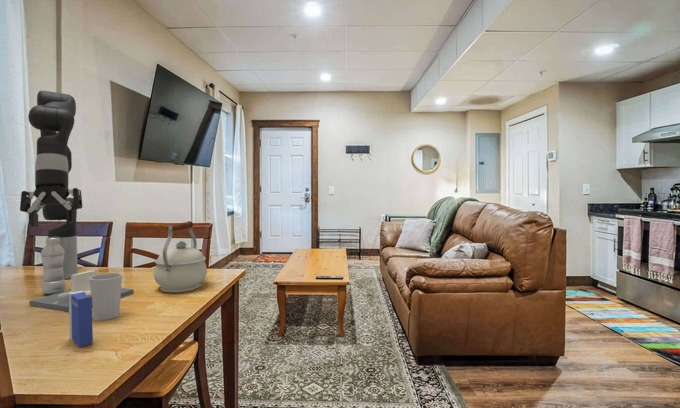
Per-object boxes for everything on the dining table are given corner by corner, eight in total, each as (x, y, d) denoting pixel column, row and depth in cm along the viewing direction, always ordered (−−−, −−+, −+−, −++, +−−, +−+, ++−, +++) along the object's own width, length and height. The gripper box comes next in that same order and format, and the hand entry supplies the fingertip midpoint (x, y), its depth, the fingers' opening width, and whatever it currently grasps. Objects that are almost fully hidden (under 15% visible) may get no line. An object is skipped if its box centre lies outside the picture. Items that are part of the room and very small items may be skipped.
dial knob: (87, 289, 119) (87, 268, 118) (104, 292, 116) (104, 270, 116) (49, 300, 107) (49, 277, 107) (68, 303, 105) (67, 279, 104)
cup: (87, 323, 94) (86, 281, 93) (92, 313, 101) (92, 274, 100) (121, 318, 97) (120, 278, 97) (124, 309, 104) (123, 271, 104)
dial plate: (29, 305, 107) (29, 300, 107) (91, 287, 126) (91, 283, 126) (75, 312, 101) (75, 307, 101) (133, 293, 120) (133, 288, 120)
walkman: (93, 343, 82) (92, 295, 81) (79, 347, 80) (78, 298, 79) (82, 334, 87) (82, 288, 86) (69, 338, 85) (68, 291, 84)
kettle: (190, 297, 117) (189, 226, 116) (139, 295, 118) (139, 225, 117) (219, 278, 142) (219, 219, 141) (178, 276, 143) (177, 219, 142)
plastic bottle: (52, 296, 115) (50, 239, 114) (36, 295, 117) (35, 238, 116) (70, 291, 122) (69, 236, 121) (55, 290, 123) (54, 235, 122)
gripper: (85, 173, 106) (86, 224, 103) (30, 175, 102) (30, 228, 99) (74, 166, 99) (74, 221, 96) (14, 169, 95) (13, 225, 92)
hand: (52, 224), depth 98 cm, fingers open, 8 cm apart
